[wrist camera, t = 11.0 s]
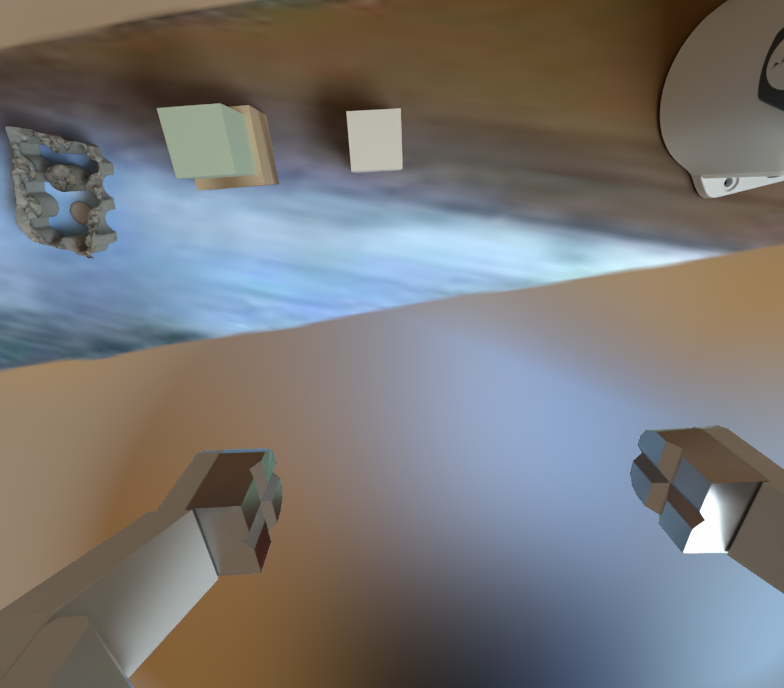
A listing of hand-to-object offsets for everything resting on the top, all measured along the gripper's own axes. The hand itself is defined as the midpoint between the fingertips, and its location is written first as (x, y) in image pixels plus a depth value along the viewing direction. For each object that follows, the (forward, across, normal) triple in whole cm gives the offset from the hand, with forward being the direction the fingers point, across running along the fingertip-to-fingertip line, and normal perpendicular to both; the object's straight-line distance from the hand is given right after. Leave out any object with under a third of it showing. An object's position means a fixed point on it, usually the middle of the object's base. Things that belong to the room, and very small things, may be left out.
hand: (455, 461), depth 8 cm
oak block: (+34, +15, -9) cm, 38 cm away
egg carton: (+34, +32, -6) cm, 48 cm away
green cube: (+29, +15, -9) cm, 34 cm away
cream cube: (+34, +2, -9) cm, 35 cm away
